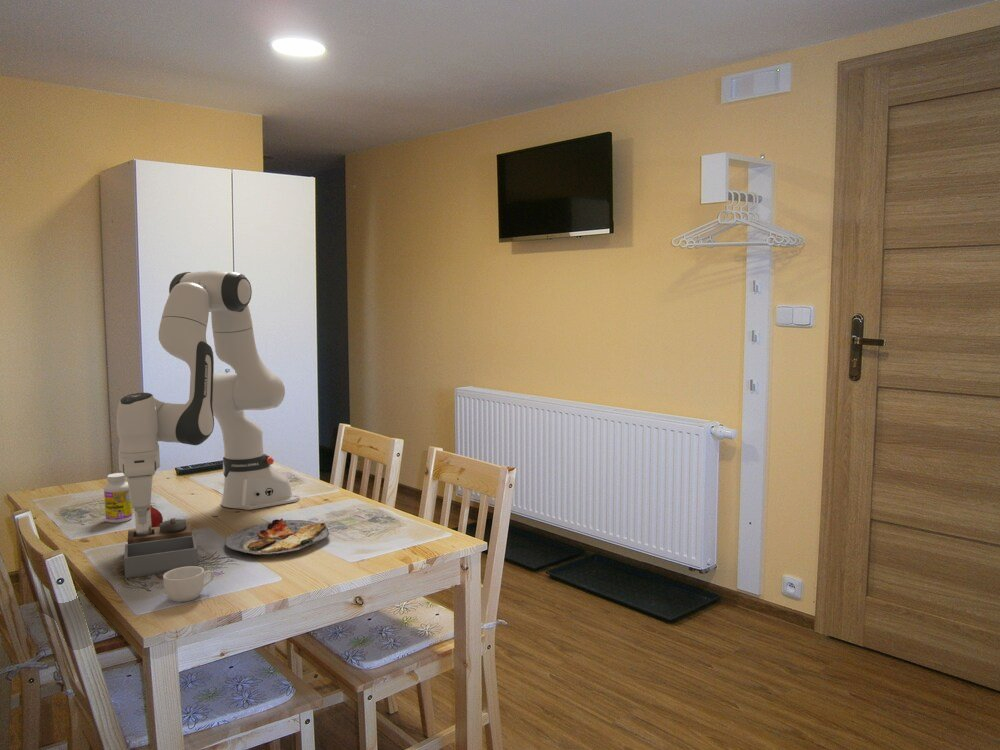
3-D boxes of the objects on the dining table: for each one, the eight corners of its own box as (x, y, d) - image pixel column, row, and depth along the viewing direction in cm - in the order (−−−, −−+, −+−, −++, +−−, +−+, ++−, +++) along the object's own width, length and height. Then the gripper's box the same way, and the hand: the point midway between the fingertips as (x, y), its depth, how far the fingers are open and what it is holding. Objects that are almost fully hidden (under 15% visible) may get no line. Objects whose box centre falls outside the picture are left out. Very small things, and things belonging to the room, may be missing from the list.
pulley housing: (191, 541, 191) (189, 512, 190) (192, 551, 183) (191, 521, 183) (129, 550, 185) (127, 520, 184) (128, 560, 177) (126, 529, 177)
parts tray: (195, 553, 182) (194, 535, 182) (198, 567, 173) (197, 548, 172) (126, 563, 176) (125, 544, 175) (125, 578, 166) (124, 558, 166)
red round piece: (139, 532, 198) (138, 503, 197) (163, 529, 200) (162, 500, 200) (138, 539, 193) (137, 508, 192) (163, 536, 195) (161, 506, 194)
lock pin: (152, 550, 185) (150, 502, 183) (152, 554, 182) (150, 505, 180) (137, 552, 183) (134, 504, 182) (137, 556, 180) (134, 507, 179)
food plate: (279, 522, 206) (279, 509, 206) (347, 535, 196) (346, 522, 195) (206, 552, 184) (205, 538, 184) (277, 569, 174) (277, 554, 173)
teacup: (172, 609, 150) (170, 582, 150) (159, 597, 156) (157, 572, 155) (221, 595, 157) (220, 570, 156) (207, 584, 163) (206, 560, 162)
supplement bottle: (101, 523, 206) (97, 477, 205) (113, 516, 213) (110, 472, 211) (125, 523, 206) (122, 477, 205) (137, 516, 213) (134, 471, 211)
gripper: (125, 454, 188) (128, 508, 189) (123, 471, 170) (127, 531, 171) (153, 452, 191) (156, 505, 192) (154, 468, 172) (157, 527, 174)
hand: (142, 518), depth 181 cm, fingers open, 8 cm apart
